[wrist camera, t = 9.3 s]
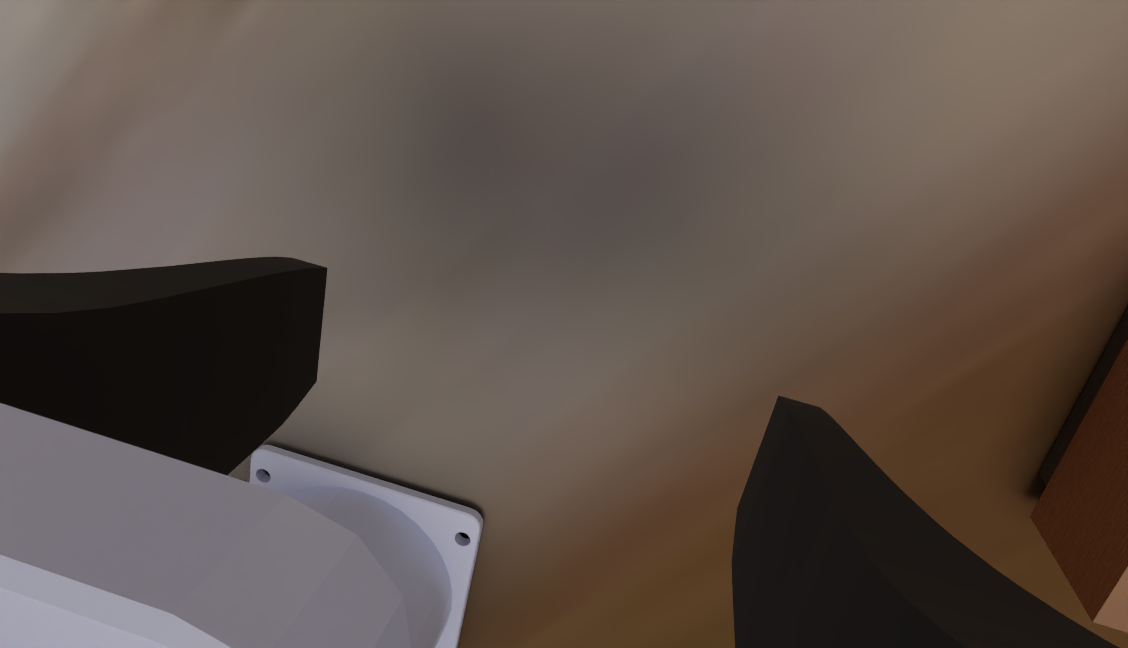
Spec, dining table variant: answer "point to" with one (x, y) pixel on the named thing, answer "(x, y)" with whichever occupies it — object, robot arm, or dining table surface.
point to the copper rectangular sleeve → (1094, 504)
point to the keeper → (1085, 399)
